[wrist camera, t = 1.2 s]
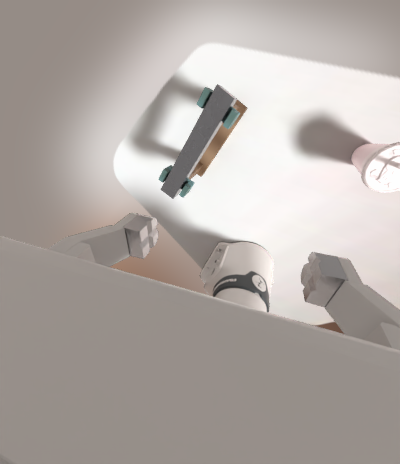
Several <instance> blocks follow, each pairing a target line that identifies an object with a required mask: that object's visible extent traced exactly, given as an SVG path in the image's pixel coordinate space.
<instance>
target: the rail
mask: <svg viewBox="0 0 400 464" xmlns="http://www.w3.org/2000/svg"><path fill="white" fill-rule="evenodd" d="M236 101H237V99H236V98H235V97H234V96H232V95H231V94H230V93H229V92H228V91H226V90H225V89H224V88H223V87H222V86H220V85H218V84H217V86H216V87H215V89H214V91H213V93H212V95H211V97H210V99H209V100H208V102H207V104H206V106H205V108H204V110H203V112H202V114H201V115H200V117H199V119H198V121H197V123H196V125H195V127H194V128H193V130H192V132H191V134H190V136H189V138H188V140H187V141H186V143H185V145H184V147H183V149H182V151H181V153H180V155H179V156H178V158H177V160H176V162H175V164H174V166H173V168H172V169H171V171H170V173H169V175H168V177H167V179H166V181H165V183H164V184H163V186H162V188H161V190H162V191H163V192H165V193H166V194H167V195H169V196H170V197H171V198H173V199H174V198H175V197H176V196H177V195H178V194H179V193H180V191H181V189H182V188H183V186H184V185H185V183H186V181H187V180H188V178H189V177H190V175H191V173H192V172H193V170H194V168H195V167H196V165H197V164H198V162H199V160H200V159H201V157H202V156H203V154H204V152H205V151H206V149H207V148H208V146H209V144H210V143H211V141H212V139H213V138H214V136H215V135H216V133H217V131H218V130H219V128H220V127H221V125H222V123H223V122H224V120H225V118H226V117H227V115H228V114H229V112H230V110H231V109H232V107H233V106H234V104H235V102H236Z"/></svg>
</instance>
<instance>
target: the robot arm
mask: <svg viewBox="0 0 400 464" xmlns="http://www.w3.org/2000/svg"><path fill="white" fill-rule="evenodd" d="M157 225H158V223H157V219H156V218H154V217H149V216H145V215H141V214H136V213H129V214H128V215H127V216H126V217H124V218H123V219H122V220H120V221H119V222H118V223H116V224H115V225H114V226H112V225H110V226H106V227H102V228H99V229H95V230H91V231H88V232H84V233H80V234H76V235H72V236H68V237H65V238H63V239H62V240H60V241H59V242H57V243H56V244H54V245H53V246H51V247H50V248H48V249H45V248H41V247H38V246H34V245H31V244H28V243H24V242H21V241H17V240H14V239H10V238H7V237H3V236H0V464H400V310H399V309H398V308H397V307H395V306H394V305H393V304H391V303H390V302H389V301H387V300H386V299H385V298H383V297H382V296H381V295H379V294H378V293H377V292H375V291H374V290H373V289H372V288H370V287H369V286H368V285H364V284H363V283H362V281H361V279H360V277H359V276H358V274H357V272H356V270H355V268H354V266H353V265H352V263H351V261H350V260H349V259H348V258H342V257H337V256H331V255H326V254H321V253H316V252H312V253H311V254H310V255H309V257H308V261H309V263H307V264H305V265H304V267H303V269H302V272H301V283H302V284H303V285H304V286H305V287H304V289H303V294H304V299H305V302H308V303H311V304H315V305H318V306H321V307H325V309H326V310H327V312H328V313H329V314H330V316H331V317H332V318H333V319H334V321H335V322H336V323H337V324H338V326H339V327H340V328H341V330H342V331H343V332H344V334H341V333H338V332H334V331H331V330H327V329H324V328H320V327H317V326H313V325H310V324H306V323H303V322H299V321H296V320H292V319H289V318H285V317H282V316H278V315H275V314H272V313H268V312H269V307H270V303H269V299H270V291H271V286H272V285H273V284H274V278H273V275H272V273H273V269H274V261H273V258H272V256H271V255H270V254H269V252H268V251H267V250H265V249H264V248H263V247H261V246H259V245H257V244H254V243H249V242H237V243H226V242H220V243H218V244H217V246H216V248H215V249H214V251H213V253H212V254H211V256H210V258H209V259H208V261H207V263H206V264H205V266H204V268H203V269H202V271H201V273H200V277H201V279H202V281H203V282H204V283H205V284H204V289H205V291H206V292H207V294H208V295H205V294H202V293H198V292H195V291H191V290H188V289H184V288H181V287H177V286H174V285H170V284H167V283H163V282H160V281H156V280H153V279H149V278H146V277H142V276H138V275H135V274H132V273H128V272H125V271H122V270H118V269H115V268H111V267H110V266H112V265H114V264H116V263H118V262H120V261H122V260H124V259H126V258H128V257H129V256H134V257H138V258H142V259H144V258H145V257H146V255H147V254H148V253H149V252H150V248H152V247H154V246H155V244H156V243H157V240H158V230H157V229H156V226H157ZM219 249H221V250H219Z"/></svg>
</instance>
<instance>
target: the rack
mask: <svg viewBox="0 0 400 464" xmlns="http://www.w3.org/2000/svg"><path fill="white" fill-rule="evenodd" d="M212 93H213V90H211V89H209V88H206V87H205V88H204V90H203V92H202V94H201V96H200V98H199V100H198V102H197V105H198V106H199V107H201V108H205V106H206V104H207V102H208V100H209V99H210V97H211V95H212ZM232 96H233V95H232ZM246 110H247V107H246V106H245V105H243V104H242V103H241V102H240V101H239V100H237V101H236V102H235V104H234V106H233V107H232V109H231V110H230V112H229V114H228V115H227V117H226V118H225V120H224V122H223V123H222V125H221V127H220V128H219V130H218V131H217V133H216V135H215V136H214V138H213V139H212V141H211V143H210V144H209V146H208V148H207V149H206V151H205V152H204V154H203V156H202V157H201V159H200V160H199V162H198V164H197V165H196V167H195V168H194V170H193V172H192V173H191V175H190V177H189V178H188V180H187V181H186V183H185V185H184V186H183V188H182V191H181V193H180V194H179V195H180V196H181V197H184V196H185V195H186V194H187V193H188V192H189V191H190V189H191V188H192V186H193V185H194V182H193V181H191V180H190V179H191V178H193V177H194V176H195V175H196V174H198V175H199V176H202V175H203V174H204V173H205V171H206V170H207V168H208V167H209V165H210V164H211V162H212V161H213V159H214V158H215V156H216V155H217V153H218V152H219V150H220V149H221V147H222V146H223V144H224V143H225V141H226V140H227V138H228V137H229V135H230V134H231V132H232V131H233V129H234V128H235V126H236V125H237V123H238V122H239V120H240V119H241V117H242V116H243V114H244V113H245V111H246ZM172 168H173V166H172V165H170V166H169V167H167V168H165V169H164V170H163V171H162V173H161V175H160V177H159V180H160V181H161V182H164V181H165V180H166V179H167V177H168V175H169V173H170V171H171V169H172Z"/></svg>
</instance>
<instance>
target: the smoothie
mask: <svg viewBox="0 0 400 464" xmlns="http://www.w3.org/2000/svg"><path fill="white" fill-rule="evenodd" d="M351 161H352V163H353V164H354V166H355V167H356V168H357V170H358V171H359V173H360V174H361V178H362V181H363V183H364V184H365V185H366V186H367V187H368V188H370V189H372V190H374V191H377V192H393V191H397V190H400V142H397V143H393V144H364V145H362V146H360V147H358V148H357V149H356V150H355V151H354V152H353V154H352V157H351Z"/></svg>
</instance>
